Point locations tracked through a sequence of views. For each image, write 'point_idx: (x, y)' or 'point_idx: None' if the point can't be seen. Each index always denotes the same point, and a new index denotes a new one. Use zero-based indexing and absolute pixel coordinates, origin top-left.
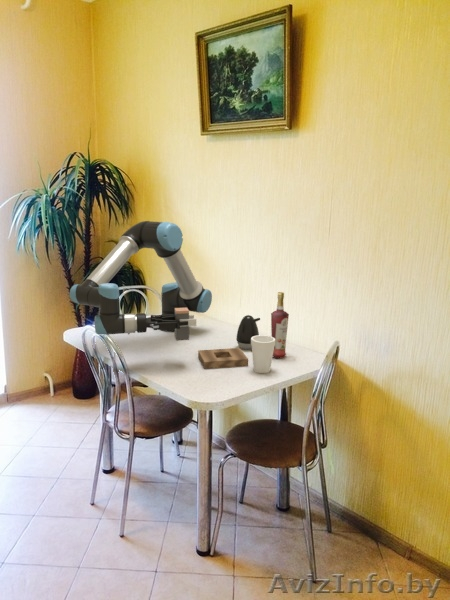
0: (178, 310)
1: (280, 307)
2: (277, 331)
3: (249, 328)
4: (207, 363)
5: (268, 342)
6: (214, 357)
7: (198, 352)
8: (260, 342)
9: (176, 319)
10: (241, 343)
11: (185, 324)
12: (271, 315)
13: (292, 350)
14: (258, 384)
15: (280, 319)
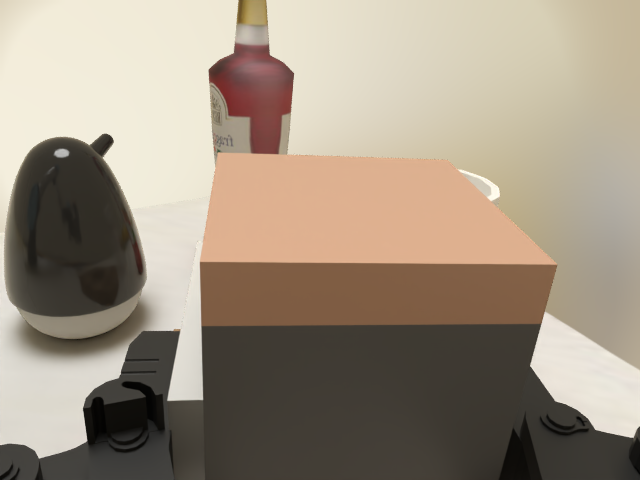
0: (464, 234)
1: (267, 33)
2: (283, 152)
3: (122, 206)
4: None
5: (489, 182)
6: None
7: None
8: (499, 195)
9: (507, 439)
10: (109, 309)
11: None
12: (247, 84)
13: (192, 228)
14: (595, 365)
15: (292, 90)
